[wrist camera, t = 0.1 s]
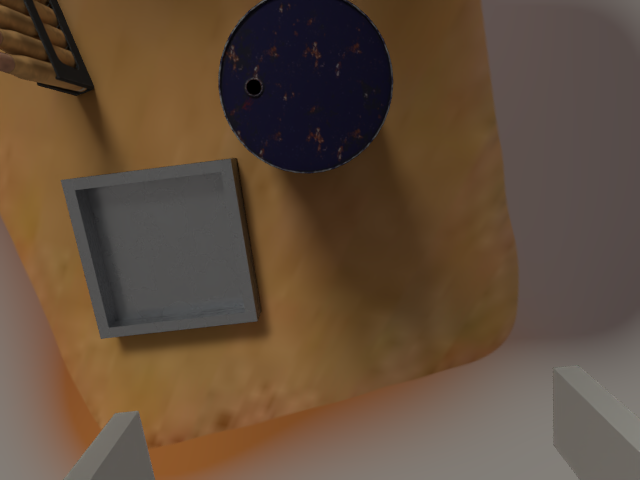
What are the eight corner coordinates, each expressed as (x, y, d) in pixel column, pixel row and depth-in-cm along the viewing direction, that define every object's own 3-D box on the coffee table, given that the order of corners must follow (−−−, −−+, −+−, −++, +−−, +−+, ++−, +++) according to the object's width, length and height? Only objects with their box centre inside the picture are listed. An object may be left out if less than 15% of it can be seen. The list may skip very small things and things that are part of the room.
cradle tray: (77, 177, 40) (60, 180, 37) (236, 157, 39) (230, 158, 37) (113, 327, 43) (101, 338, 41) (261, 311, 42) (257, 321, 40)
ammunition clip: (95, 89, 38) (-7, 64, 26) (76, 96, 38) (-34, 75, 27) (40, -39, 36) (-98, -127, 24) (20, -30, 36) (-126, -114, 24)
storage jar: (368, 46, 37) (396, -18, 22) (369, 161, 39) (395, 172, 25) (253, 50, 37) (207, -10, 23) (260, 165, 39) (222, 178, 25)
